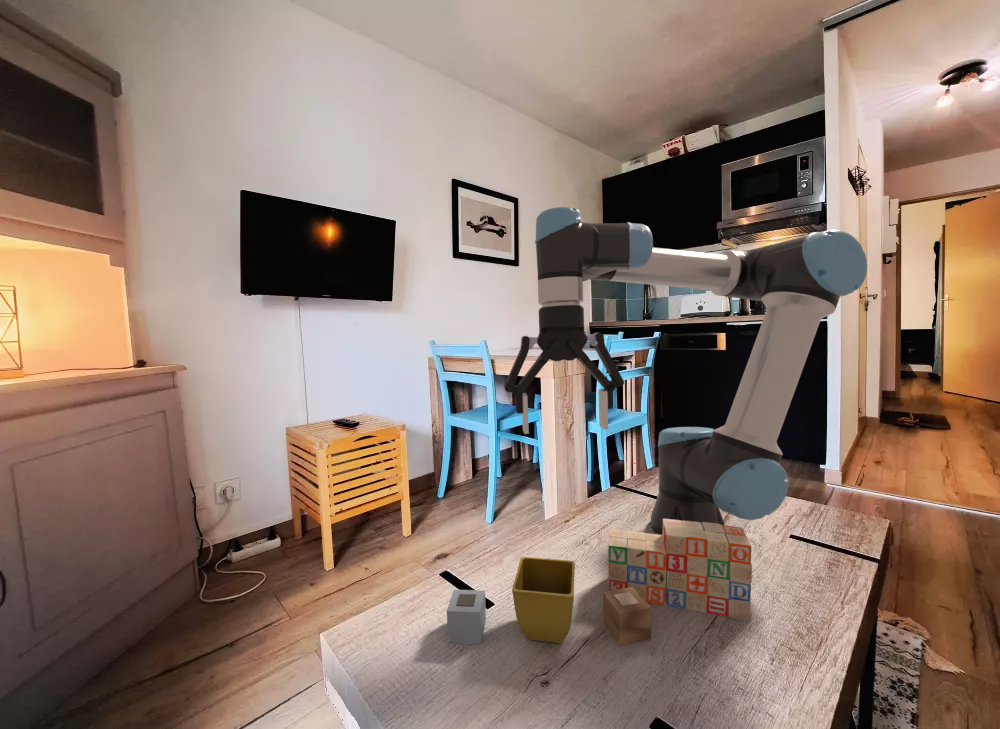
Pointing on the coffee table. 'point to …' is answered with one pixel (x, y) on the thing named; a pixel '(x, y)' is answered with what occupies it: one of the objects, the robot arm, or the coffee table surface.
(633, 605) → the walnut cube marked
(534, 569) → the flower pot
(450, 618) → the grey cube marked
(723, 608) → the stack of blocks
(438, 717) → the coffee table surface
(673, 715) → the coffee table surface
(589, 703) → the coffee table surface
